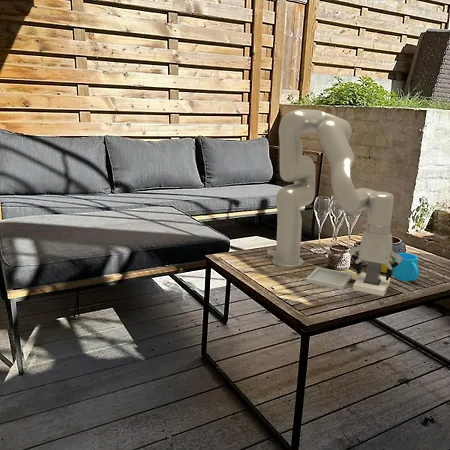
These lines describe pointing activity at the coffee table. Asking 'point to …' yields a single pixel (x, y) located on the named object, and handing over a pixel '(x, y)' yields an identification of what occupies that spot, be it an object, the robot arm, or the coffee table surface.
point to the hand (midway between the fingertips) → (372, 276)
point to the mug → (406, 268)
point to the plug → (373, 273)
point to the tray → (329, 278)
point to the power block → (370, 288)
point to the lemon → (385, 267)
